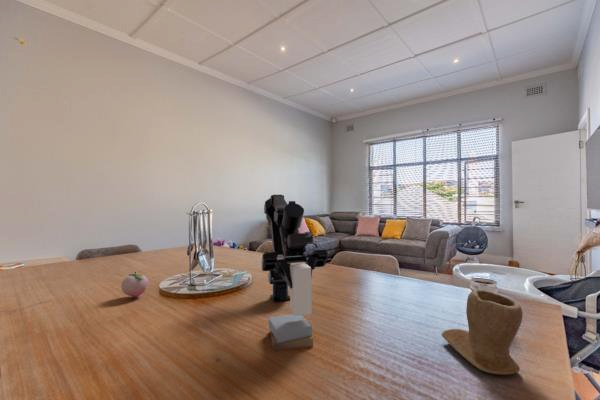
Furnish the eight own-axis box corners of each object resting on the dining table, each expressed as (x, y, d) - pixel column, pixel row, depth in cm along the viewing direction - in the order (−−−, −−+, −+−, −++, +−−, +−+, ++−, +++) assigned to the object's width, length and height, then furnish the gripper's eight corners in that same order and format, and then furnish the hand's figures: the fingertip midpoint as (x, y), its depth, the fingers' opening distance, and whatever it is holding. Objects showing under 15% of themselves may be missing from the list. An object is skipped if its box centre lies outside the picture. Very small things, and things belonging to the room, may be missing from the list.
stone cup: (539, 379, 54) (537, 303, 54) (479, 380, 54) (478, 304, 54) (487, 341, 69) (485, 281, 70) (440, 341, 69) (439, 282, 70)
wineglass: (490, 329, 76) (489, 285, 76) (465, 320, 82) (464, 279, 82) (503, 323, 79) (502, 282, 79) (479, 315, 85) (478, 276, 85)
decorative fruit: (115, 300, 103) (115, 273, 104) (136, 293, 111) (135, 268, 111) (133, 303, 100) (132, 275, 100) (152, 296, 108) (152, 270, 108)
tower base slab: (270, 333, 76) (270, 324, 76) (305, 330, 78) (305, 321, 78) (272, 353, 67) (272, 342, 67) (313, 348, 68) (313, 338, 68)
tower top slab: (268, 327, 75) (268, 317, 75) (299, 321, 78) (299, 312, 78) (277, 342, 67) (277, 332, 67) (311, 335, 70) (311, 325, 70)
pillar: (290, 309, 74) (289, 264, 74) (306, 307, 75) (306, 263, 76) (294, 315, 70) (293, 268, 70) (311, 313, 71) (311, 267, 71)
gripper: (262, 223, 75) (268, 273, 65) (326, 221, 80) (341, 267, 69) (259, 247, 83) (264, 296, 72) (318, 244, 88) (331, 289, 77)
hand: (300, 286), depth 72 cm, fingers closed on pillar, 5 cm apart
